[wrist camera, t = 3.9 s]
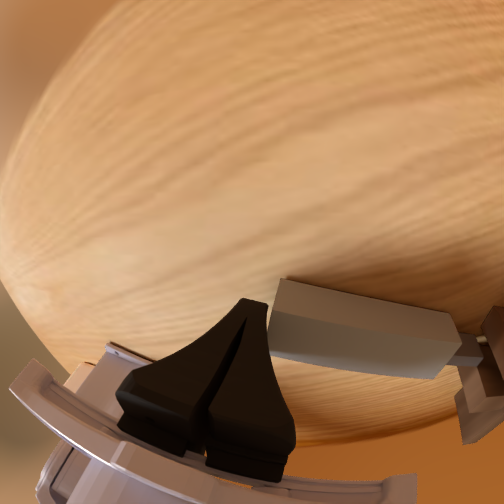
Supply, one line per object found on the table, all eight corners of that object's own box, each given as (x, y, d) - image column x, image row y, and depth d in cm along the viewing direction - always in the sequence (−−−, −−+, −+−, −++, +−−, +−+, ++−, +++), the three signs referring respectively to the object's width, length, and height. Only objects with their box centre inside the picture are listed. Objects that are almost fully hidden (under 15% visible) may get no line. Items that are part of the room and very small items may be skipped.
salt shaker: (117, 386, 27) (80, 444, 19) (97, 380, 28) (62, 431, 20) (99, 365, 25) (57, 425, 17) (80, 359, 26) (40, 412, 18)
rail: (271, 321, 15) (262, 353, 13) (280, 278, 13) (272, 309, 11) (458, 352, 13) (467, 380, 11) (482, 319, 11) (495, 346, 9)
